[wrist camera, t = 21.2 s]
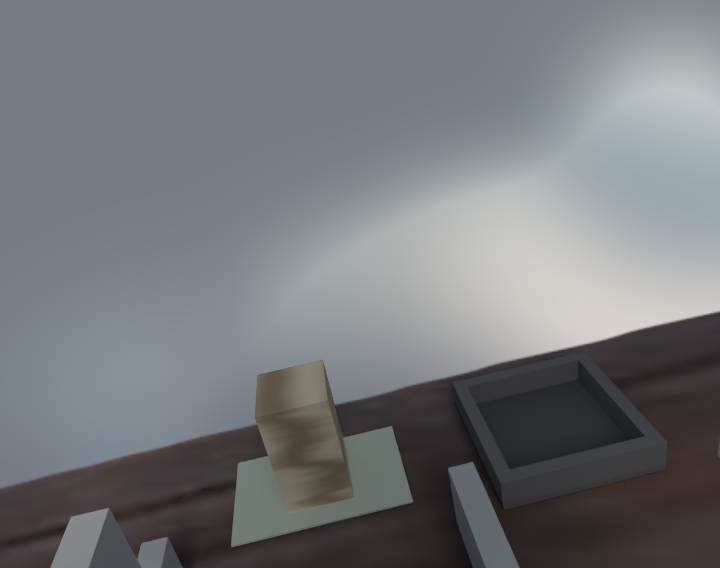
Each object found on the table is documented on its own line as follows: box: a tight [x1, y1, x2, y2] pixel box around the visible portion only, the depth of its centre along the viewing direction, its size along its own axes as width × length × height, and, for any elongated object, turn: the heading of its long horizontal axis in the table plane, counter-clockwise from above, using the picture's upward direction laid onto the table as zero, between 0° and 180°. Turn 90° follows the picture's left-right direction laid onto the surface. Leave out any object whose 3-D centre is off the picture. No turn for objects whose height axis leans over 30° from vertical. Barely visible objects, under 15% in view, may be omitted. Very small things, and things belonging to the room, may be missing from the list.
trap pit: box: [452, 351, 668, 510], centre depth 53 cm, size 14×14×3 cm
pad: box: [231, 426, 413, 547], centre depth 53 cm, size 16×10×1 cm, turn 98°
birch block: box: [255, 360, 354, 513], centre depth 51 cm, size 6×6×11 cm
